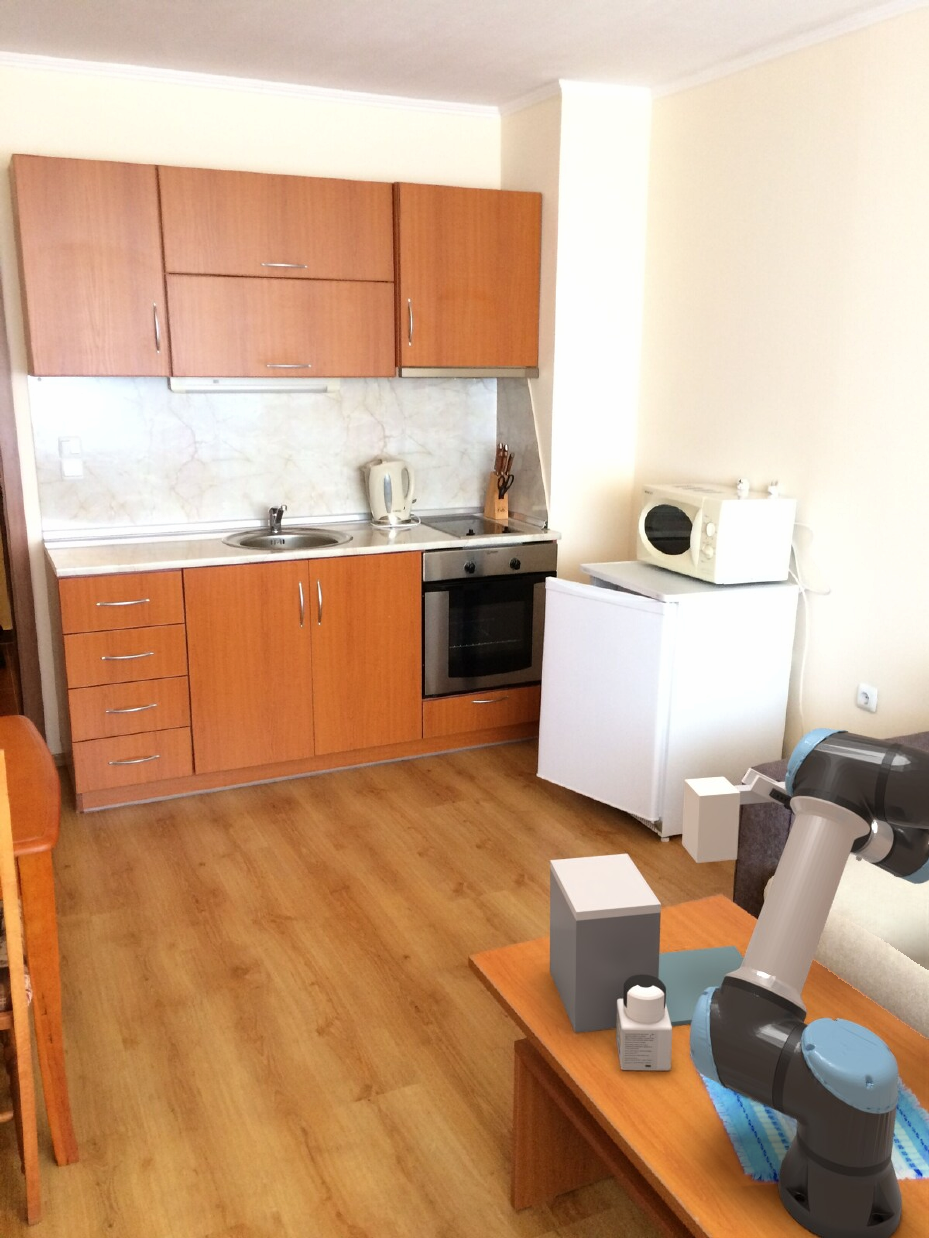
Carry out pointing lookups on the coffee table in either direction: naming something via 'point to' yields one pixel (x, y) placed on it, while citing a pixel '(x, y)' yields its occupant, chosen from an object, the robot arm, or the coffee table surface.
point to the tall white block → (714, 817)
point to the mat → (694, 977)
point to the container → (643, 1025)
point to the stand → (600, 935)
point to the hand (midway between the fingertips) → (750, 778)
